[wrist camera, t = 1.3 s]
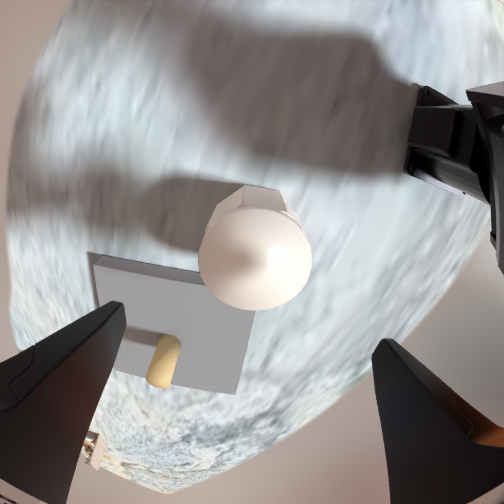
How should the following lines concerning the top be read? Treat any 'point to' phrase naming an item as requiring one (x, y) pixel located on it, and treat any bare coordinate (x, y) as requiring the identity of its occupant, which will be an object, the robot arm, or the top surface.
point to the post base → (174, 326)
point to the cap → (254, 250)
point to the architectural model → (95, 451)
